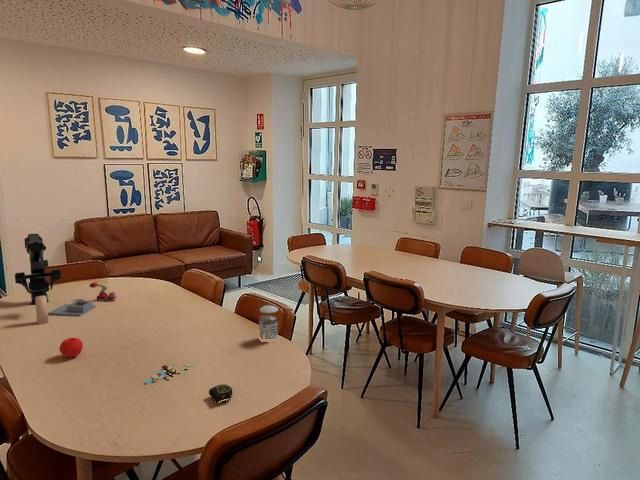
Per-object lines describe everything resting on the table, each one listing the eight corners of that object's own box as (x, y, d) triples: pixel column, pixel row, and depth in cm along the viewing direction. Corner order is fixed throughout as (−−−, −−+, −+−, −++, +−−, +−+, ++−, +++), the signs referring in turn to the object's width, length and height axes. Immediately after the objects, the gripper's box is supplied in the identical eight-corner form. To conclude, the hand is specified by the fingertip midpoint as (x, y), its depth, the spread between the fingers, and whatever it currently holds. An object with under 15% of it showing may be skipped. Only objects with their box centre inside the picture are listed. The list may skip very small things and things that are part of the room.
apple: (59, 362, 164) (58, 344, 163) (60, 354, 171) (59, 336, 170) (83, 358, 168) (82, 340, 167) (83, 350, 175) (82, 333, 174)
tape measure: (208, 397, 144) (208, 386, 143) (227, 391, 148) (227, 381, 147) (215, 406, 138) (215, 396, 138) (235, 400, 142) (235, 390, 141)
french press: (283, 337, 195) (284, 283, 191) (270, 346, 185) (270, 290, 181) (265, 332, 199) (265, 280, 195) (250, 341, 189) (251, 286, 185)
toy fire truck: (113, 301, 236) (112, 284, 234) (90, 300, 237) (89, 283, 235) (117, 299, 239) (116, 283, 237) (93, 298, 240) (92, 281, 239)
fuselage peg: (35, 324, 201) (32, 298, 199) (41, 320, 205) (39, 295, 203) (44, 324, 201) (42, 298, 198) (50, 321, 205) (48, 295, 203)
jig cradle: (48, 314, 213) (47, 307, 212) (65, 305, 227) (65, 298, 226) (80, 316, 212) (79, 308, 212) (95, 307, 226) (95, 299, 226)
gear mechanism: (138, 379, 154) (151, 389, 148) (137, 365, 153) (150, 374, 147) (187, 361, 169) (201, 369, 163) (187, 348, 168) (200, 356, 162)
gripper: (13, 256, 203) (15, 284, 196) (59, 253, 214) (62, 279, 207) (14, 269, 211) (16, 296, 204) (58, 265, 221) (62, 291, 214)
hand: (39, 290), depth 207 cm, fingers open, 9 cm apart
